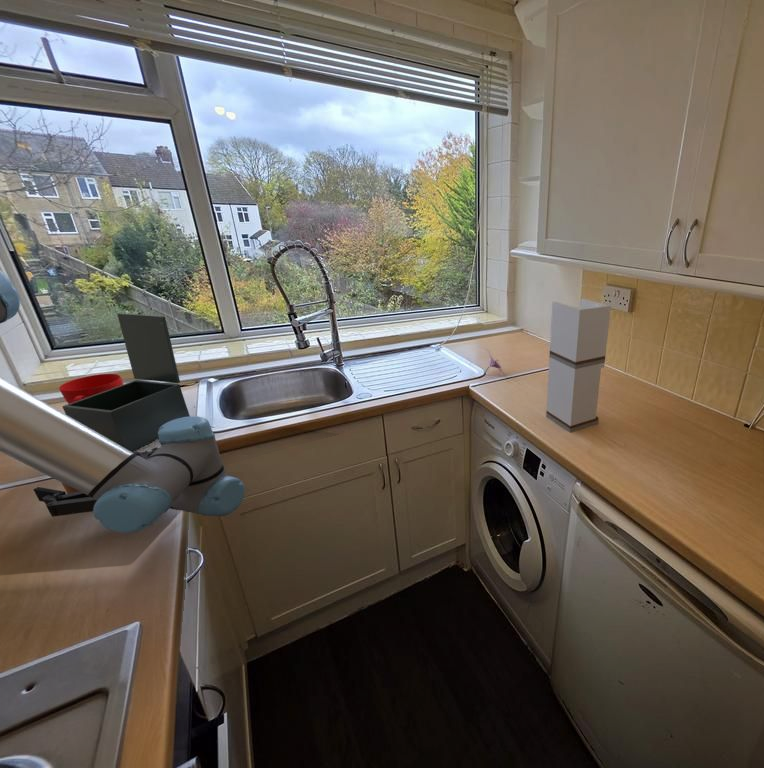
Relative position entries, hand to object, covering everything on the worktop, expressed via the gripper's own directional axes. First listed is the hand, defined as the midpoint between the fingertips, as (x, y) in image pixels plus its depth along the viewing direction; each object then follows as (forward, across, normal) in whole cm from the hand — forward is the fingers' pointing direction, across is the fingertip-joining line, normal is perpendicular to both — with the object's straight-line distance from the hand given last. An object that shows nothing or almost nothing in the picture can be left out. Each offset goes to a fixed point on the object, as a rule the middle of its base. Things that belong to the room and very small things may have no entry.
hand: (79, 473), depth 84 cm
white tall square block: (-98, +58, -6) cm, 114 cm away
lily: (-67, +90, -6) cm, 112 cm away
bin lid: (+17, +33, +16) cm, 40 cm away
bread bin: (+17, +24, -6) cm, 29 cm away
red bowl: (+39, +30, -6) cm, 49 cm away
